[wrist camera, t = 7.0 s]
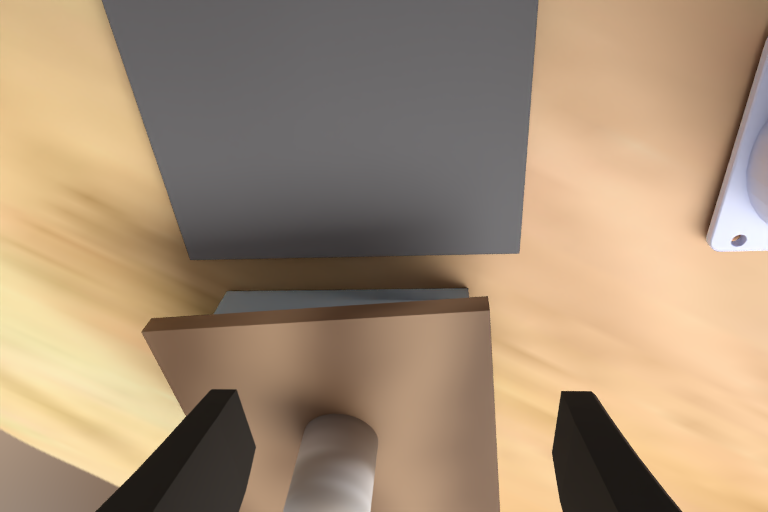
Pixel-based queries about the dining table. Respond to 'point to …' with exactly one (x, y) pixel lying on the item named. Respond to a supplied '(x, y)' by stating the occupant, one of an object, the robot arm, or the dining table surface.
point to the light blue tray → (327, 298)
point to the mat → (335, 122)
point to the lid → (350, 401)
